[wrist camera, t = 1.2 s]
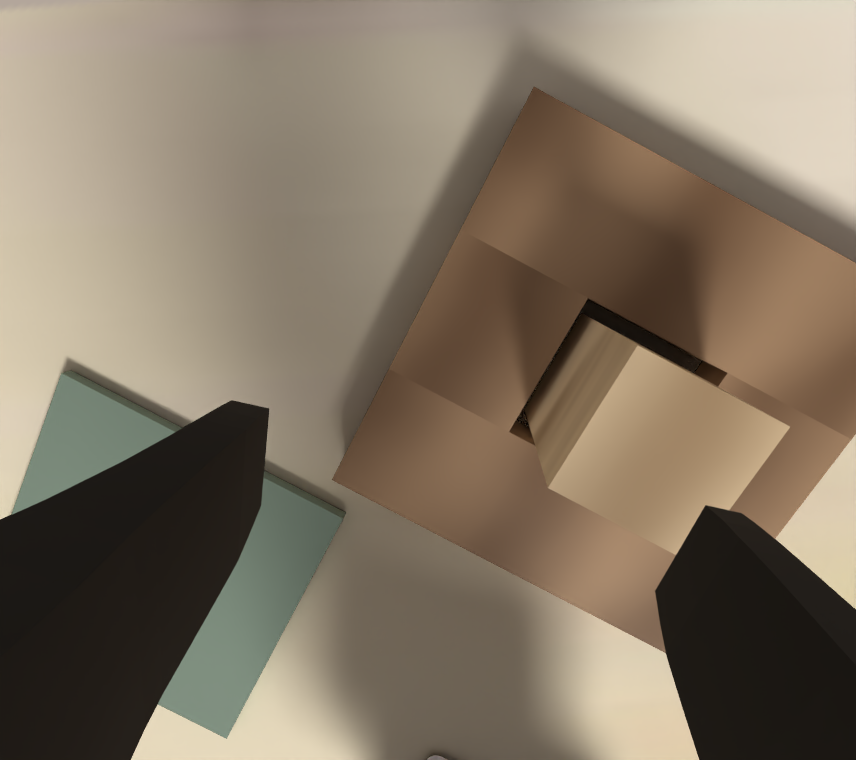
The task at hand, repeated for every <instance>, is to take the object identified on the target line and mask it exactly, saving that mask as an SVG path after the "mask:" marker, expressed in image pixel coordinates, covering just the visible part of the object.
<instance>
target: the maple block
mask: <svg viewBox="0 0 856 760" xmlns="http://www.w3.org/2000/svg"><path fill="white" fill-rule="evenodd" d="M525 413H526V416H527V420H528V423H529V426H530V430H531V433H532V436H533V440H534V443H535V446H536V450H537V453H538V457H539V460H540V463H541V467H542V470H543V473H544V477H545V480H546V483H547V487H548V488H549V489H551V490H553V491H555V492H557V493H558V494H560V495H562V496H564V497H566V498H568V499H570V500H572V501H574V502H576V503H577V504H579V505H581V506H583V507H585V508H587V509H589V510H591V511H593V512H595V513H597V514H598V515H600V516H602V517H604V518H606V519H608V520H610V521H612V522H614V523H616V524H618V525H619V526H621V527H623V528H625V529H627V530H629V531H631V532H633V533H635V534H637V535H639V536H640V537H642V538H644V539H646V540H648V541H650V542H652V543H654V544H656V545H658V546H659V547H661V548H663V549H665V550H667V551H669V552H671V553H673V554H675V555H676V554H677V553H678V551H679V549H680V548H681V546H682V544H683V542H684V541H685V539H686V537H687V536H688V534H689V532H690V531H691V529H692V527H693V525H694V524H695V522H696V520H697V519H698V517H699V515H700V514H701V512H702V510H703V508H704V507H705V505H707V506H712V507H716V508H721V509H726V510H730V509H731V507H732V506H733V504H734V503H735V502H736V500H737V499H738V498H739V496H740V495H741V494H742V492H743V491H744V489H745V488H746V487H747V485H748V484H749V483H750V481H751V480H752V479H753V477H754V476H755V474H756V473H757V472H758V470H759V469H760V468H761V466H762V465H763V464H764V462H765V461H766V459H767V458H768V457H769V455H770V454H771V453H772V451H773V450H774V449H775V447H776V446H777V444H778V443H779V442H780V440H781V439H782V438H783V436H784V435H785V434H786V432H787V431H788V429H789V428H790V426H788V425H786V424H784V423H782V422H781V421H779V420H777V419H775V418H773V417H772V416H770V415H768V414H766V413H764V412H763V411H761V410H759V409H757V408H755V407H754V406H752V405H750V404H748V403H746V402H745V401H743V400H741V399H739V398H737V397H736V396H734V395H732V394H730V393H728V392H727V391H725V390H723V389H721V388H719V387H718V386H716V385H714V384H712V383H710V382H709V381H707V380H705V379H703V378H701V377H700V376H698V375H696V374H694V373H692V372H691V371H689V370H687V369H685V368H683V367H682V366H680V365H678V364H676V363H674V362H672V361H670V360H669V359H667V358H665V357H663V356H661V355H659V354H657V353H656V352H654V351H652V350H650V349H648V348H646V347H644V346H642V345H641V344H639V343H637V342H635V341H633V340H631V339H629V338H628V337H626V336H624V335H622V334H620V333H618V332H616V331H614V330H613V329H611V328H609V327H607V326H605V325H603V324H601V323H599V322H598V321H596V320H594V319H592V318H590V317H588V316H586V315H585V314H583V313H581V315H580V317H579V318H578V320H577V322H576V323H575V325H574V327H573V328H572V330H571V332H570V333H569V335H568V337H567V339H566V340H565V342H564V344H563V345H562V347H561V349H560V350H559V352H558V354H557V355H556V357H555V359H554V361H553V362H552V364H551V366H550V367H549V369H548V371H547V372H546V374H545V376H544V377H543V379H542V381H541V382H540V384H539V386H538V388H537V389H536V391H535V393H534V394H533V396H532V398H531V399H530V401H529V403H528V404H527V406H526V408H525Z"/></svg>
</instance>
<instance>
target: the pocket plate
mask: <svg viewBox="0 0 856 760" xmlns="http://www.w3.org/2000/svg"><path fill="white" fill-rule="evenodd" d="M587 299H588V300H590V301H592V302H594V303H595V304H597V305H599V306H601V307H603V308H605V309H607V310H608V311H610V312H612V313H614V314H616V315H618V316H620V317H622V318H623V319H625V320H627V321H629V322H631V323H633V324H635V325H636V326H638V327H640V328H642V329H644V330H646V331H648V332H649V333H651V334H653V335H655V336H657V337H659V338H661V339H662V340H664V341H666V342H668V343H670V344H672V345H674V346H676V347H677V348H679V349H681V350H683V351H685V352H687V353H689V354H690V355H692V356H694V357H696V358H698V359H700V360H702V362H701V364H700V365H699V367H698V368H697V370H696V371H695V373H694V374H696V375H698V376H700V377H701V378H703V379H705V380H707V381H709V382H710V383H712V384H714V385H716V386H718V387H719V388H721V389H723V390H725V391H727V392H728V393H730V394H732V395H734V396H736V397H737V398H739V399H741V400H743V401H745V402H746V403H748V404H750V405H752V406H754V407H755V408H757V409H759V410H761V411H763V412H764V413H766V414H768V415H770V416H772V417H773V418H775V419H777V420H779V421H781V422H782V423H784V424H786V425H788V426H790V428H789V429H788V431H787V432H786V434H785V435H784V436H783V438H782V439H781V440H780V442H779V443H778V444H777V446H776V447H775V449H774V450H773V451H772V453H771V454H770V455H769V457H768V458H767V459H766V461H765V462H764V464H763V465H762V466H761V468H760V469H759V470H758V472H757V473H756V474H755V476H754V477H753V479H752V480H751V481H750V483H749V484H748V485H747V487H746V488H745V489H744V491H743V492H742V494H741V495H740V496H739V498H738V499H737V500H736V502H735V503H734V504H733V506H732V507H731V509H730V511H735V512H739V513H742V514H744V515H745V516H746V517H748V518H749V519H751V520H752V521H753V522H755V523H756V524H757V525H758V526H760V527H761V528H762V529H763V530H765V531H766V532H767V533H768V534H770V535H771V536H772V537H773V538H774V539H775V538H776V537H777V536H778V534H779V533H780V532H781V530H782V529H783V528H784V526H785V525H786V524H787V523H788V521H789V520H790V519H791V517H792V516H793V515H794V513H795V512H796V511H797V509H798V508H799V507H800V506H801V504H802V503H803V502H804V500H805V499H806V498H807V496H808V495H809V494H810V493H811V491H812V490H813V489H814V487H815V486H816V485H817V483H818V482H819V481H820V480H821V478H822V477H823V476H824V474H825V473H826V472H827V470H828V469H829V468H830V467H831V465H832V464H833V463H834V461H835V460H836V459H837V457H838V456H839V455H840V453H841V452H842V451H843V450H844V448H845V447H846V446H847V444H848V443H849V442H850V440H851V439H852V438H853V437H854V435H855V434H856V263H855V262H853V261H852V260H850V259H848V258H846V257H844V256H842V255H841V254H839V253H837V252H835V251H833V250H831V249H830V248H828V247H826V246H824V245H822V244H820V243H819V242H817V241H815V240H813V239H811V238H809V237H808V236H806V235H804V234H802V233H800V232H799V231H797V230H795V229H793V228H791V227H789V226H788V225H786V224H784V223H782V222H780V221H778V220H777V219H775V218H773V217H771V216H769V215H767V214H766V213H764V212H762V211H760V210H758V209H757V208H755V207H753V206H751V205H749V204H747V203H746V202H744V201H742V200H740V199H738V198H736V197H735V196H733V195H731V194H729V193H727V192H725V191H724V190H722V189H720V188H718V187H716V186H714V185H713V184H711V183H709V182H707V181H705V180H704V179H702V178H700V177H698V176H696V175H694V174H693V173H691V172H689V171H687V170H685V169H683V168H682V167H680V166H678V165H676V164H674V163H672V162H671V161H669V160H667V159H665V158H663V157H661V156H660V155H658V154H656V153H654V152H652V151H651V150H649V149H647V148H645V147H643V146H641V145H640V144H638V143H636V142H634V141H632V140H630V139H629V138H627V137H625V136H623V135H621V134H619V133H618V132H616V131H614V130H612V129H610V128H609V127H607V126H605V125H603V124H601V123H599V122H598V121H596V120H594V119H592V118H590V117H588V116H587V115H585V114H583V113H581V112H579V111H577V110H576V109H574V108H572V107H570V106H568V105H566V104H565V103H563V102H561V101H559V100H557V99H556V98H554V97H552V96H550V95H548V94H546V93H545V92H543V91H541V90H539V89H537V88H535V87H533V89H532V91H531V93H530V95H529V97H528V99H527V101H526V103H525V105H524V107H523V109H522V111H521V113H520V115H519V117H518V119H517V121H516V123H515V124H514V126H513V128H512V130H511V132H510V134H509V136H508V138H507V140H506V142H505V144H504V146H503V148H502V150H501V152H500V154H499V156H498V158H497V160H496V161H495V163H494V165H493V167H492V169H491V171H490V173H489V175H488V177H487V179H486V181H485V183H484V185H483V187H482V189H481V191H480V193H479V195H478V196H477V198H476V200H475V202H474V204H473V206H472V208H471V210H470V212H469V214H468V216H467V218H466V220H465V222H464V224H463V226H462V228H461V230H460V232H459V233H458V235H457V237H456V239H455V241H454V243H453V245H452V247H451V249H450V251H449V253H448V255H447V257H446V259H445V261H444V263H443V265H442V267H441V268H440V270H439V272H438V274H437V276H436V278H435V280H434V282H433V284H432V286H431V288H430V290H429V292H428V294H427V296H426V298H425V300H424V302H423V304H422V305H421V307H420V309H419V311H418V313H417V315H416V317H415V319H414V321H413V323H412V325H411V327H410V329H409V331H408V333H407V335H406V337H405V339H404V341H403V342H402V344H401V346H400V348H399V350H398V352H397V354H396V356H395V358H394V360H393V362H392V364H391V366H390V368H389V370H388V372H387V374H386V376H385V377H384V379H383V381H382V383H381V385H380V387H379V389H378V391H377V393H376V395H375V397H374V399H373V401H372V403H371V405H370V407H369V409H368V411H367V413H366V414H365V416H364V418H363V420H362V422H361V424H360V426H359V428H358V430H357V432H356V434H355V436H354V438H353V440H352V442H351V444H350V446H349V448H348V450H347V451H346V453H345V455H344V457H343V459H342V461H341V463H340V465H339V467H338V469H337V471H336V473H335V475H334V477H333V479H332V480H333V481H335V482H337V483H339V484H341V485H343V486H345V487H347V488H349V489H351V490H352V491H354V492H356V493H358V494H360V495H362V496H364V497H366V498H368V499H370V500H372V501H374V502H376V503H378V504H379V505H381V506H383V507H385V508H387V509H389V510H391V511H393V512H395V513H397V514H399V515H401V516H403V517H405V518H406V519H408V520H410V521H412V522H414V523H416V524H418V525H420V526H422V527H424V528H426V529H428V530H430V531H432V532H433V533H435V534H437V535H439V536H441V537H443V538H445V539H447V540H449V541H451V542H453V543H455V544H457V545H459V546H460V547H462V548H464V549H466V550H468V551H470V552H472V553H474V554H476V555H478V556H480V557H482V558H484V559H486V560H487V561H489V562H491V563H493V564H495V565H497V566H499V567H501V568H503V569H505V570H507V571H509V572H511V573H513V574H514V575H516V576H518V577H520V578H522V579H524V580H526V581H528V582H530V583H532V584H534V585H536V586H538V587H539V588H541V589H543V590H545V591H547V592H549V593H551V594H553V595H555V596H557V597H559V598H561V599H563V600H565V601H566V602H568V603H570V604H572V605H574V606H576V607H578V608H580V609H582V610H584V611H586V612H588V613H590V614H592V615H593V616H595V617H597V618H599V619H601V620H603V621H605V622H607V623H609V624H611V625H613V626H615V627H617V628H619V629H620V630H622V631H624V632H626V633H628V634H630V635H632V636H634V637H636V638H638V639H640V640H642V641H644V642H646V643H647V644H649V645H651V646H653V647H655V648H657V649H659V650H661V651H663V652H665V653H666V651H665V646H664V641H663V636H662V631H661V626H660V620H659V613H658V607H657V601H656V594H655V590H656V588H657V587H658V585H659V583H660V582H661V580H662V578H663V576H664V575H665V573H666V571H667V570H668V568H669V566H670V565H671V563H672V561H673V559H674V558H675V556H676V555H675V554H673V553H671V552H669V551H667V550H665V549H663V548H661V547H659V546H658V545H656V544H654V543H652V542H650V541H648V540H646V539H644V538H642V537H640V536H639V535H637V534H635V533H633V532H631V531H629V530H627V529H625V528H623V527H621V526H619V525H618V524H616V523H614V522H612V521H610V520H608V519H606V518H604V517H602V516H600V515H598V514H597V513H595V512H593V511H591V510H589V509H587V508H585V507H583V506H581V505H579V504H577V503H576V502H574V501H572V500H570V499H568V498H566V497H564V496H562V495H560V494H558V493H557V492H555V491H553V490H551V489H549V488H548V487H547V483H546V480H545V477H544V473H543V470H542V467H541V463H540V460H539V457H538V453H537V450H536V446H535V443H534V440H533V436H532V433H531V430H530V428H529V427H527V426H526V425H524V424H522V423H520V422H518V421H516V419H517V417H518V416H519V414H520V412H521V411H522V409H523V407H524V406H525V404H526V402H527V401H528V399H529V397H530V395H531V394H532V392H533V390H534V389H535V387H536V385H537V384H538V382H539V380H540V379H541V377H542V375H543V373H544V372H545V370H546V368H547V367H548V365H549V363H550V362H551V360H552V358H553V357H554V355H555V353H556V351H557V350H558V348H559V346H560V345H561V343H562V341H563V340H564V338H565V336H566V335H567V333H568V331H569V329H570V328H571V326H572V324H573V323H574V321H575V319H576V318H577V316H578V314H579V313H580V311H581V309H582V307H583V306H584V304H585V302H586V301H587Z"/></svg>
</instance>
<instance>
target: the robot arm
mask: <svg viewBox="0 0 856 760" xmlns="http://www.w3.org/2000/svg"><path fill="white" fill-rule="evenodd" d="M268 417H269V408H264V407H259V406H255V405H250V404H246V403H241V402H237V401H232V400H231V401H230V402H228V403H226V404H224V405H222V406H220V407H218V408H217V409H215V410H213V411H211V412H210V413H208V414H206V415H204V416H203V417H201V418H199V419H197V420H196V421H194V422H192V423H190V424H189V425H187V426H185V427H184V428H182V429H180V430H178V431H176V432H175V433H173V434H171V435H169V436H168V437H166V438H164V439H162V440H160V441H159V442H157V443H155V444H153V445H151V446H150V447H148V448H146V449H144V450H142V451H141V452H139V453H137V454H135V455H133V456H131V457H130V458H128V459H126V460H124V461H122V462H120V463H118V464H116V465H114V466H112V467H110V468H108V469H106V470H104V471H102V472H100V473H98V474H96V475H94V476H92V477H90V478H88V479H86V480H84V481H82V482H80V483H78V484H76V485H74V486H72V487H70V488H68V489H66V490H64V491H62V492H60V493H58V494H56V495H54V496H52V497H50V498H48V499H45V500H43V501H41V502H39V503H37V504H35V505H32V506H30V507H28V508H26V509H23V510H21V511H19V512H17V513H14V514H12V515H10V516H7V517H5V518H3V519H0V760H131V758H132V756H133V753H134V751H135V749H136V747H137V745H138V743H139V740H140V738H141V736H142V734H143V732H144V730H145V727H146V726H147V724H148V722H149V720H150V718H151V716H152V714H153V712H154V710H155V708H156V706H157V704H158V702H159V701H160V699H161V697H162V695H163V693H164V691H165V689H166V688H167V686H168V684H169V682H170V681H171V679H172V677H173V675H174V674H175V672H176V670H177V668H178V667H179V665H180V663H181V661H182V660H183V658H184V656H185V654H186V653H187V651H188V649H189V647H190V646H191V644H192V642H193V640H194V638H195V637H196V635H197V633H198V631H199V630H200V628H201V626H202V624H203V623H204V621H205V619H206V617H207V616H208V614H209V612H210V610H211V609H212V607H213V605H214V603H215V602H216V600H217V598H218V596H219V594H220V593H221V591H222V589H223V587H224V585H225V584H226V582H227V580H228V578H229V577H230V575H231V573H232V571H233V569H234V568H235V566H236V564H237V562H238V560H239V558H240V555H241V553H242V551H243V548H244V546H245V544H246V541H247V539H248V537H249V534H250V532H251V529H252V527H253V525H254V522H255V520H256V517H257V515H258V512H259V510H260V507H261V501H262V489H263V477H264V465H265V453H266V441H267V429H268ZM655 594H656V601H657V607H658V613H659V620H660V626H661V631H662V636H663V641H664V646H665V651H666V655H667V658H668V662H669V665H670V669H671V672H672V675H673V678H674V682H675V685H676V688H677V691H678V694H679V698H680V701H681V704H682V707H683V710H684V713H685V717H686V720H687V723H688V726H689V729H690V732H691V735H692V738H693V741H694V745H695V748H696V751H697V754H698V757H699V760H856V609H855V608H853V607H852V606H851V605H850V604H849V603H848V602H847V601H845V600H844V599H843V598H842V597H841V596H840V595H839V594H837V593H836V592H835V591H834V590H833V589H832V588H831V587H829V586H828V585H827V584H826V583H825V582H824V581H823V580H822V579H820V578H819V577H818V576H817V575H816V574H815V573H814V572H812V571H811V570H810V569H809V568H808V567H807V566H806V565H804V564H803V563H802V562H801V561H800V560H799V559H798V558H796V557H795V556H794V555H793V554H792V553H791V552H790V551H788V550H787V549H786V548H785V547H784V546H783V545H781V544H780V543H779V542H778V541H777V540H776V539H774V538H773V537H772V536H771V535H770V534H768V533H767V532H766V531H765V530H763V529H762V528H761V527H760V526H758V525H757V524H756V523H755V522H753V521H752V520H751V519H749V518H748V517H746V516H745V515H744V514H742V513H739V512H735V511H730V510H726V509H721V508H716V507H712V506H707V505H705V507H704V508H703V510H702V512H701V514H700V515H699V517H698V519H697V520H696V522H695V524H694V525H693V527H692V529H691V531H690V532H689V534H688V536H687V537H686V539H685V541H684V542H683V544H682V546H681V548H680V549H679V551H678V553H677V554H676V556H675V558H674V559H673V561H672V563H671V565H670V566H669V568H668V570H667V571H666V573H665V575H664V576H663V578H662V580H661V582H660V583H659V585H658V587H657V588H656V590H655ZM427 760H447V759H445V758H443V757H441V756H438V755H434V756H431V757H429V758H428V759H427Z"/></svg>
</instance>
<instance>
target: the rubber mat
mask: <svg viewBox="0 0 856 760" xmlns="http://www.w3.org/2000/svg"><path fill="white" fill-rule="evenodd" d="M180 429H182V428H181V427H179V426H177V425H175V424H173V423H171V422H170V421H168V420H166V419H164V418H162V417H160V416H158V415H156V414H154V413H152V412H150V411H148V410H146V409H144V408H142V407H141V406H139V405H137V404H135V403H133V402H131V401H129V400H127V399H125V398H123V397H121V396H119V395H117V394H115V393H113V392H112V391H110V390H108V389H106V388H104V387H102V386H100V385H98V384H96V383H94V382H92V381H90V380H88V379H86V378H84V377H83V376H81V375H79V374H77V373H75V372H73V371H67V372H64V373H61V376H60V379H59V382H58V384H57V387H56V390H55V393H54V396H53V399H52V401H51V404H50V407H49V410H48V413H47V416H46V418H45V421H44V424H43V427H42V430H41V433H40V435H39V438H38V441H37V444H36V447H35V450H34V452H33V455H32V458H31V461H30V464H29V466H28V469H27V472H26V475H25V478H24V481H23V483H22V486H21V489H20V492H19V495H18V498H17V500H16V503H15V506H14V509H13V512H12V514H14V513H17V512H19V511H21V510H23V509H26V508H28V507H30V506H32V505H35V504H37V503H39V502H41V501H43V500H45V499H48V498H50V497H52V496H54V495H56V494H58V493H60V492H62V491H64V490H66V489H68V488H70V487H72V486H74V485H76V484H78V483H80V482H82V481H84V480H86V479H88V478H90V477H92V476H94V475H96V474H98V473H100V472H102V471H104V470H106V469H108V468H110V467H112V466H114V465H116V464H118V463H120V462H122V461H124V460H126V459H128V458H130V457H131V456H133V455H135V454H137V453H139V452H141V451H142V450H144V449H146V448H148V447H150V446H151V445H153V444H155V443H157V442H159V441H160V440H162V439H164V438H166V437H168V436H169V435H171V434H173V433H175V432H176V431H178V430H180ZM345 514H346V513H345V512H344V511H342V510H340V509H338V508H336V507H334V506H332V505H330V504H328V503H326V502H324V501H322V500H320V499H318V498H316V497H315V496H313V495H311V494H309V493H307V492H305V491H303V490H301V489H299V488H297V487H295V486H293V485H291V484H289V483H287V482H286V481H284V480H282V479H280V478H278V477H276V476H274V475H272V474H270V473H268V472H266V471H264V477H263V489H262V501H261V507H260V510H259V512H258V515H257V517H256V520H255V522H254V525H253V527H252V529H251V532H250V534H249V537H248V539H247V541H246V544H245V546H244V548H243V551H242V553H241V555H240V558H239V560H238V562H237V564H236V566H235V568H234V569H233V571H232V573H231V575H230V577H229V578H228V580H227V582H226V584H225V585H224V587H223V589H222V591H221V593H220V594H219V596H218V598H217V600H216V602H215V603H214V605H213V607H212V609H211V610H210V612H209V614H208V616H207V617H206V619H205V621H204V623H203V624H202V626H201V628H200V630H199V631H198V633H197V635H196V637H195V638H194V640H193V642H192V644H191V646H190V647H189V649H188V651H187V653H186V654H185V656H184V658H183V660H182V661H181V663H180V665H179V667H178V668H177V670H176V672H175V674H174V675H173V677H172V679H171V681H170V682H169V684H168V686H167V688H166V689H165V691H164V693H163V695H162V697H161V699H160V701H159V702H158V705H160V706H162V707H164V708H166V709H168V710H170V711H172V712H174V713H176V714H178V715H180V716H182V717H184V718H186V719H188V720H190V721H192V722H194V723H196V724H198V725H200V726H202V727H204V728H206V729H208V730H210V731H212V732H214V733H216V734H218V735H220V736H222V737H224V738H226V739H227V737H228V735H229V733H230V731H231V729H232V727H233V726H234V724H235V722H236V720H237V718H238V716H239V714H240V712H241V710H242V709H243V707H244V705H245V703H246V701H247V699H248V697H249V695H250V693H251V692H252V690H253V688H254V686H255V684H256V682H257V680H258V678H259V677H260V675H261V673H262V671H263V669H264V667H265V665H266V663H267V661H268V660H269V658H270V656H271V654H272V652H273V650H274V648H275V646H276V644H277V643H278V641H279V639H280V637H281V635H282V633H283V631H284V629H285V628H286V626H287V624H288V622H289V620H290V618H291V616H292V614H293V612H294V611H295V609H296V607H297V605H298V603H299V601H300V599H301V597H302V595H303V594H304V592H305V590H306V588H307V586H308V584H309V582H310V580H311V578H312V577H313V575H314V573H315V571H316V569H317V567H318V565H319V563H320V562H321V560H322V558H323V556H324V554H325V552H326V550H327V548H328V546H329V545H330V543H331V541H332V539H333V537H334V535H335V533H336V531H337V529H338V528H339V526H340V524H341V522H342V520H343V518H344V516H345Z"/></svg>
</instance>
